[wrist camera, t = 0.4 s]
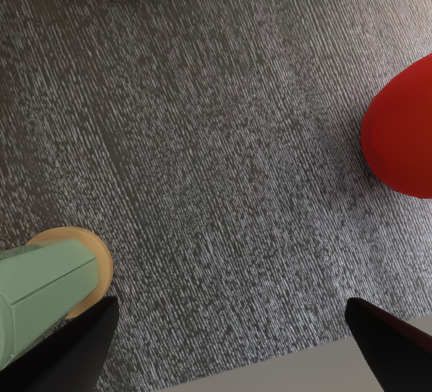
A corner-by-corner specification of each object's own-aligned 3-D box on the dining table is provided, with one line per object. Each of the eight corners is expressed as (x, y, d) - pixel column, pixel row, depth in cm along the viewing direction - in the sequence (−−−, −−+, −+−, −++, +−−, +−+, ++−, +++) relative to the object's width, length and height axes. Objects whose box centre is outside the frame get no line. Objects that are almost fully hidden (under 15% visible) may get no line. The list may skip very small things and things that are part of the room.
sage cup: (63, 322, 20) (-67, 440, 10) (9, 276, 20) (-178, 352, 10) (112, 270, 21) (32, 334, 11) (60, 224, 21) (-71, 247, 11)
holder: (70, 332, 21) (20, 384, 15) (2, 274, 21) (-77, 303, 15) (132, 266, 22) (106, 290, 16) (66, 208, 22) (15, 211, 16)
